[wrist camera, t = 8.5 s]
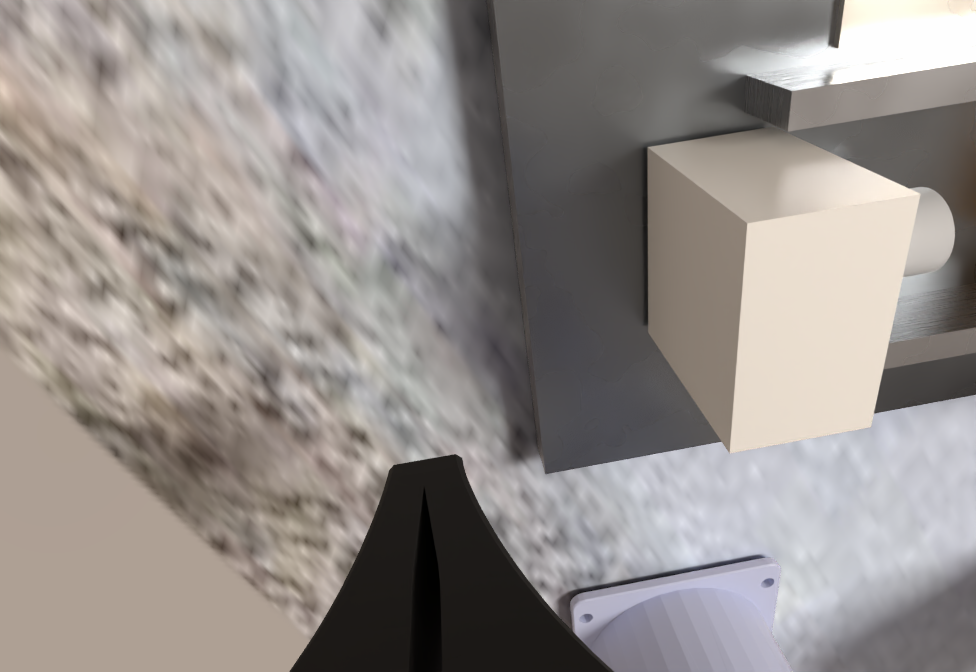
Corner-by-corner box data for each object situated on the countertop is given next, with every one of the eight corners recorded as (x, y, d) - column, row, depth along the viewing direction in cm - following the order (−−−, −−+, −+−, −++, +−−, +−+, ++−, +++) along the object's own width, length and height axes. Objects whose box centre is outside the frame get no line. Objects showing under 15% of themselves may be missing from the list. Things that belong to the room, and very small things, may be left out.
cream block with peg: (647, 332, 18) (730, 453, 14) (647, 147, 15) (747, 223, 11) (862, 294, 18) (1009, 401, 14) (896, 106, 16) (1089, 164, 11)
